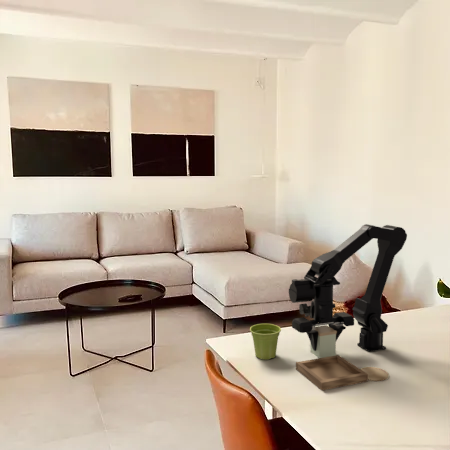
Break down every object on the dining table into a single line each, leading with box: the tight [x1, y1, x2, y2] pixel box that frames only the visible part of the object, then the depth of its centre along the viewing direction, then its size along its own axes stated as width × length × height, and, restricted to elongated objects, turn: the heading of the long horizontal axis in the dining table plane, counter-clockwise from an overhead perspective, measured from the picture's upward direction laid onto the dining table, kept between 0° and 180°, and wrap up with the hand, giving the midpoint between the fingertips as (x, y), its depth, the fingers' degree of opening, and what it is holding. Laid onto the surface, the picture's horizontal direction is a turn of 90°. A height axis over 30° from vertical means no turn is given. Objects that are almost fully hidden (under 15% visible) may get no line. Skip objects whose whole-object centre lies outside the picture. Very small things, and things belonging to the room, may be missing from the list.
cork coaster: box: [360, 366, 390, 382], centre depth 132 cm, size 8×8×1 cm
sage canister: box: [310, 324, 337, 359], centre depth 147 cm, size 6×6×8 cm
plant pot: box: [249, 323, 282, 361], centre depth 146 cm, size 9×9×9 cm
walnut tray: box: [295, 354, 369, 391], centre depth 132 cm, size 14×14×2 cm
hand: (322, 349), depth 147 cm, fingers closed on sage canister, 5 cm apart
